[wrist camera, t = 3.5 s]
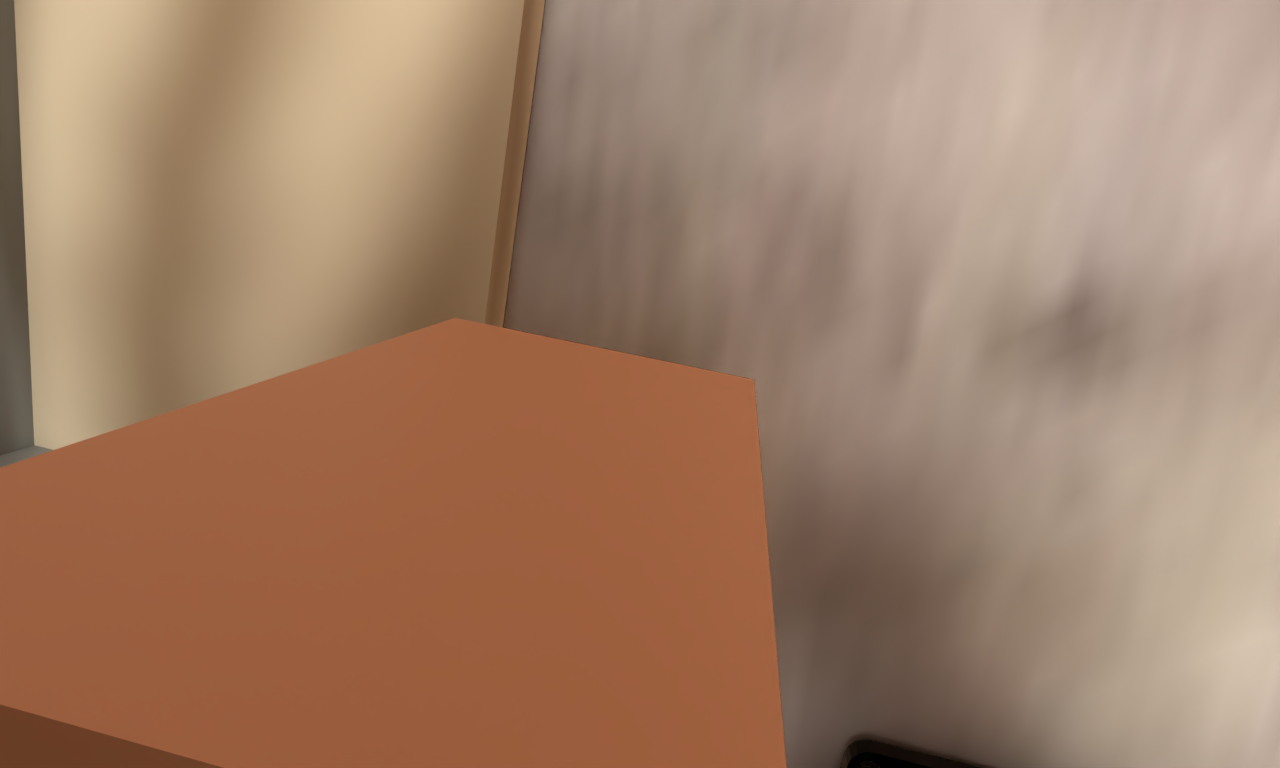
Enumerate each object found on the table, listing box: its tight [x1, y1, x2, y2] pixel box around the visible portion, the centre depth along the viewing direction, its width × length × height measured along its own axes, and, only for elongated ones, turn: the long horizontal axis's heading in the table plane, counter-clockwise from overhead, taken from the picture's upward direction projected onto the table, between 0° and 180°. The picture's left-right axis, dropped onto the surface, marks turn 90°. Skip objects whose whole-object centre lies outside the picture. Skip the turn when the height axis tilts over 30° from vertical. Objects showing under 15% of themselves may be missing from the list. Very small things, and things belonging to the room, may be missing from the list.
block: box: [0, 318, 786, 768], centre depth 6 cm, size 4×6×7 cm, turn 170°
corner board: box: [0, 0, 545, 468], centre depth 13 cm, size 13×14×6 cm
